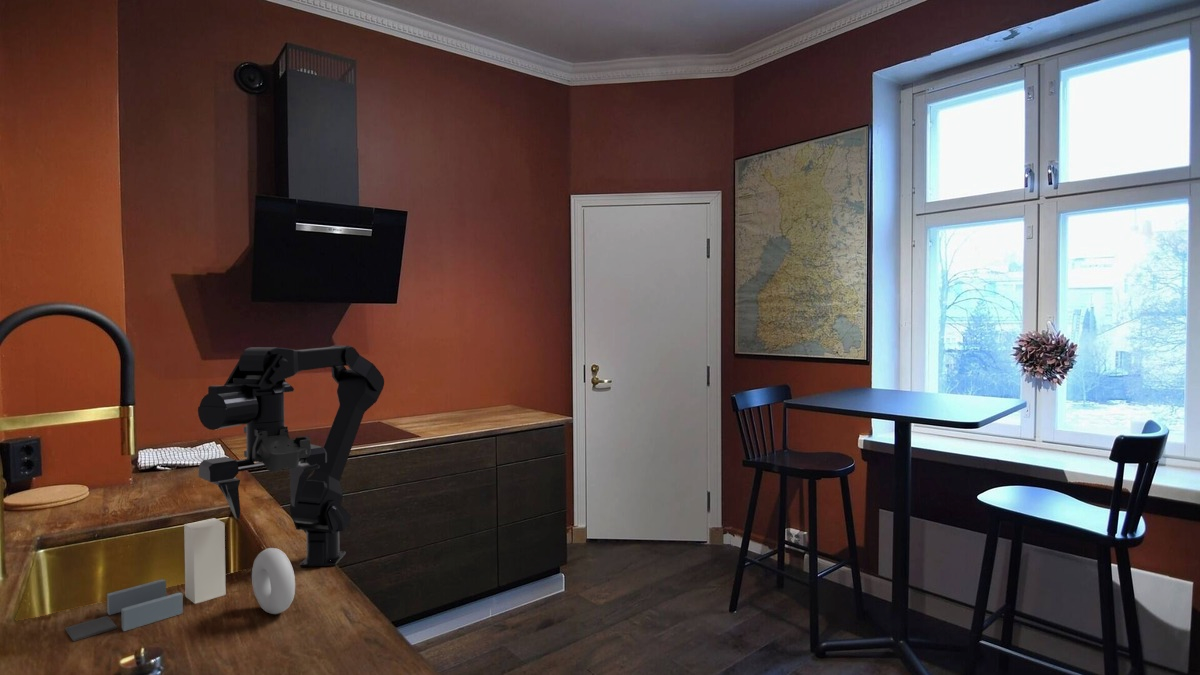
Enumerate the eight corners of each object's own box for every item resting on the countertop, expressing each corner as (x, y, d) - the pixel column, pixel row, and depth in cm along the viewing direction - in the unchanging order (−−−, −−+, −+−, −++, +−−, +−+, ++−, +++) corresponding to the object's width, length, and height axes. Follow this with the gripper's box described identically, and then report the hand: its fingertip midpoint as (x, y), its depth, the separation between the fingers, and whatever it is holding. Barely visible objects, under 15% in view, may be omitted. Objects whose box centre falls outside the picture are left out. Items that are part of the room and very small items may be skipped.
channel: (163, 596, 103) (163, 578, 103) (182, 613, 97) (182, 594, 97) (107, 612, 98) (107, 593, 97) (123, 631, 91) (123, 611, 91)
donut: (248, 607, 99) (247, 544, 99) (270, 600, 102) (269, 539, 102) (277, 625, 93) (276, 559, 93) (300, 617, 96) (299, 552, 95)
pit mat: (107, 617, 96) (107, 615, 96) (116, 628, 92) (116, 626, 92) (65, 629, 92) (65, 627, 92) (73, 641, 89) (73, 639, 89)
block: (215, 587, 107) (214, 517, 107) (225, 594, 104) (224, 523, 104) (185, 596, 103) (184, 524, 103) (194, 603, 101) (193, 529, 100)
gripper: (222, 432, 94) (224, 536, 94) (341, 418, 108) (342, 508, 108) (196, 425, 101) (198, 521, 101) (311, 413, 115) (312, 497, 116)
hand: (266, 512), depth 106 cm, fingers open, 9 cm apart
